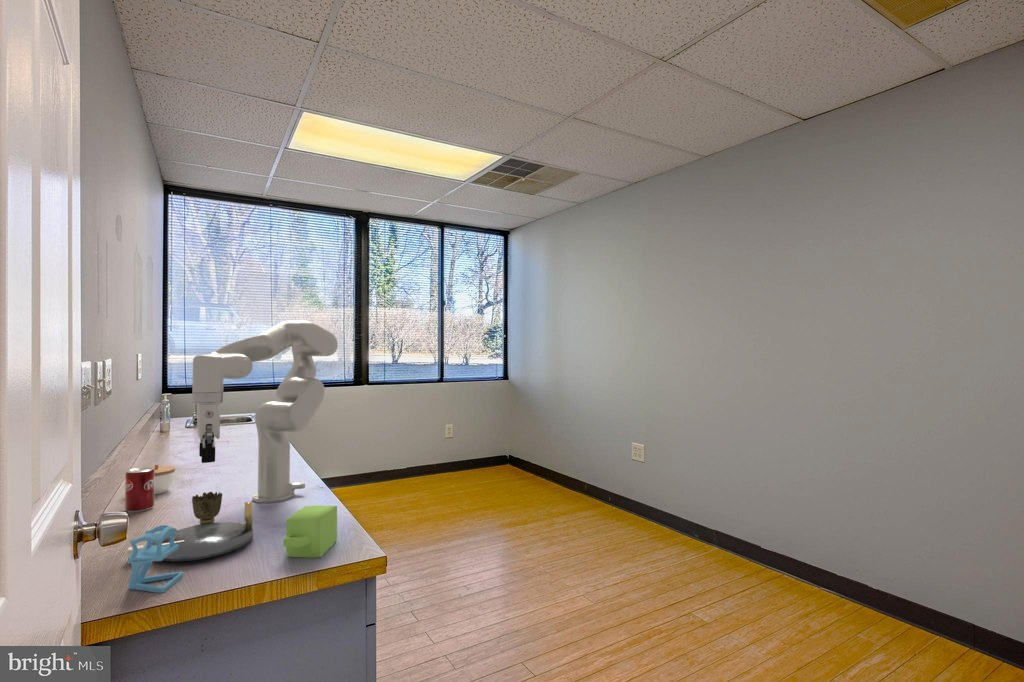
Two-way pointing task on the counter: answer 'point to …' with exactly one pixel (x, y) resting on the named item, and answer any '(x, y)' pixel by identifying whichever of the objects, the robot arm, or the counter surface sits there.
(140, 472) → the soda can
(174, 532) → the chair
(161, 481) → the lidded jar
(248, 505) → the turntable
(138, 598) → the counter surface
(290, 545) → the gearbox
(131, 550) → the turntable base
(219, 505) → the cup
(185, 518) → the counter surface
